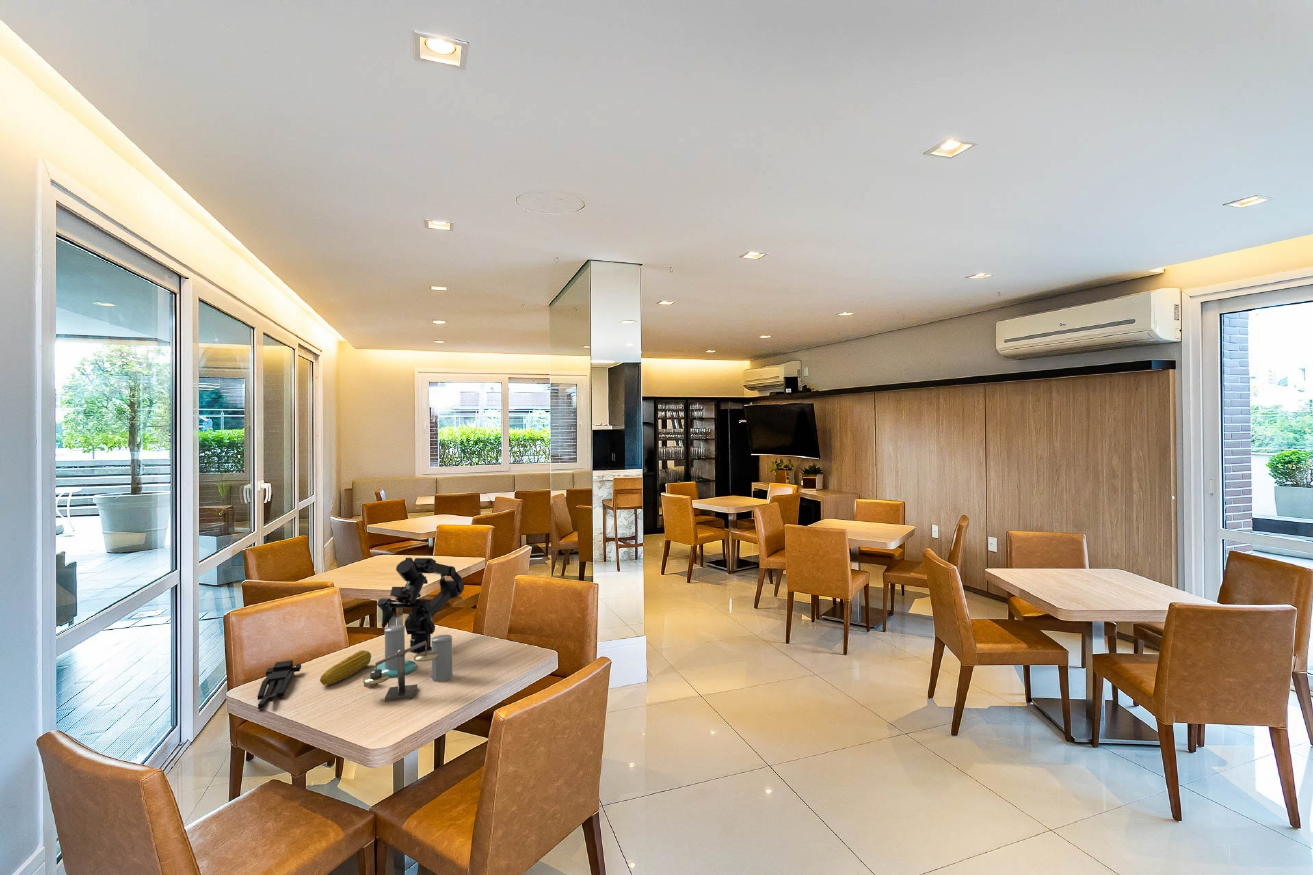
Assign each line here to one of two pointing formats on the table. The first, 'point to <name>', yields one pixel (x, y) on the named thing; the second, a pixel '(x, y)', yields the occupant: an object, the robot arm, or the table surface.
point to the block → (370, 685)
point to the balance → (399, 674)
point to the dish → (409, 668)
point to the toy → (276, 681)
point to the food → (346, 667)
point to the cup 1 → (393, 644)
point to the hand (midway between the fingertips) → (394, 628)
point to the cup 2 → (442, 658)
